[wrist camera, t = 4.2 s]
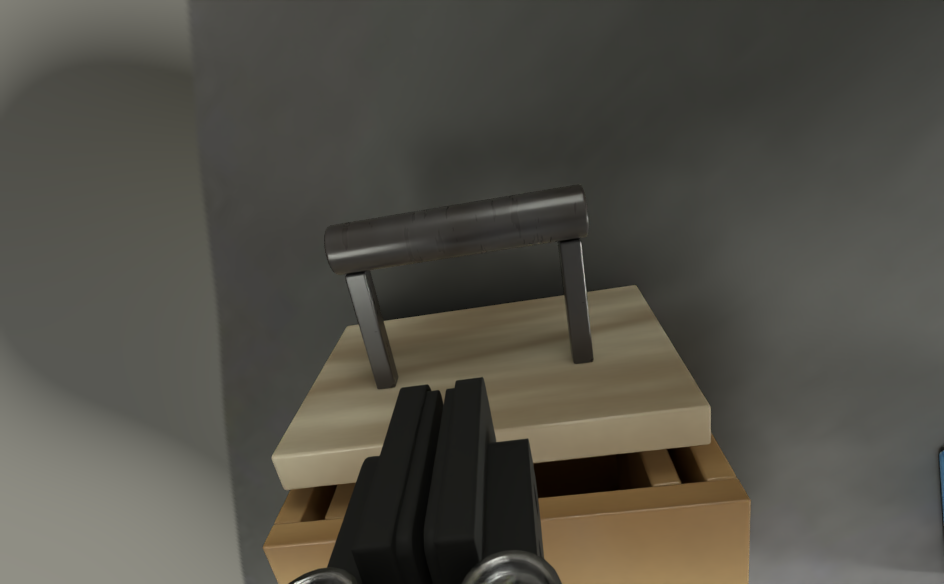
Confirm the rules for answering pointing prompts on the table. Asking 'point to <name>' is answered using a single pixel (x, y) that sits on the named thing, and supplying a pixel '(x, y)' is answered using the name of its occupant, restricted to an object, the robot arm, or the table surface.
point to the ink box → (942, 477)
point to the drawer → (500, 358)
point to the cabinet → (586, 529)
